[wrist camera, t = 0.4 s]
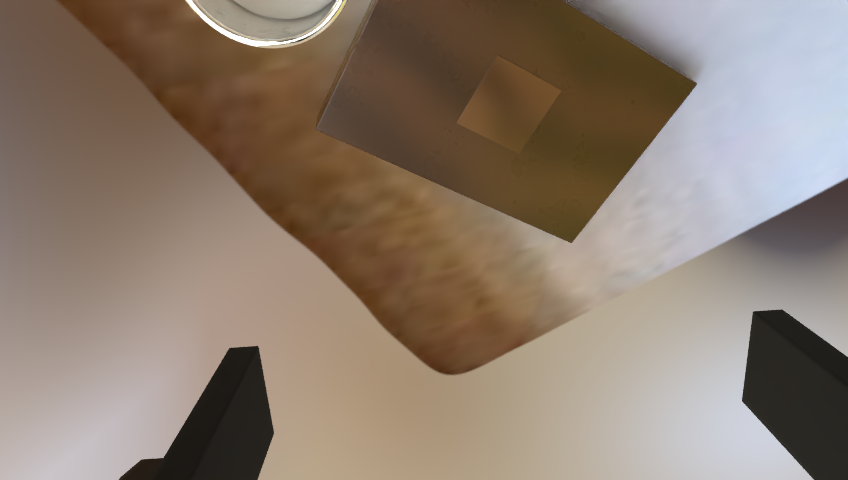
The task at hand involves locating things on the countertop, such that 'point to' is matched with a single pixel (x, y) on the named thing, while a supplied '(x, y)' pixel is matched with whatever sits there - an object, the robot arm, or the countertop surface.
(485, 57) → the serving board
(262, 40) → the beer glass
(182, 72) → the countertop surface
